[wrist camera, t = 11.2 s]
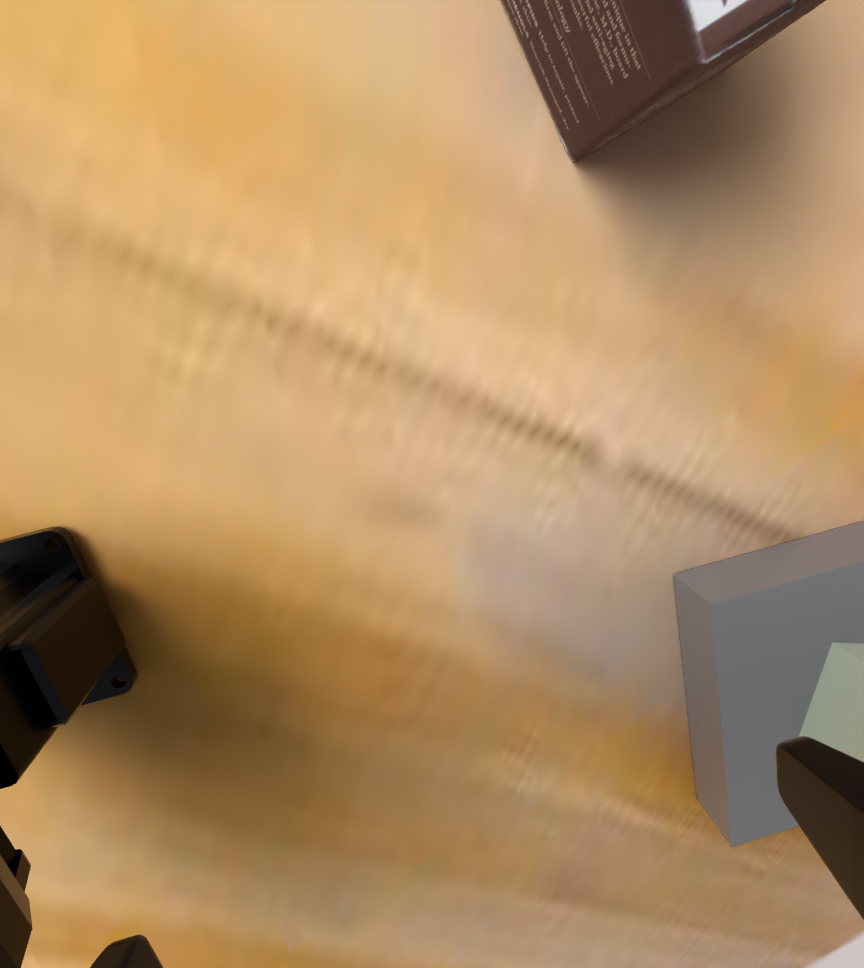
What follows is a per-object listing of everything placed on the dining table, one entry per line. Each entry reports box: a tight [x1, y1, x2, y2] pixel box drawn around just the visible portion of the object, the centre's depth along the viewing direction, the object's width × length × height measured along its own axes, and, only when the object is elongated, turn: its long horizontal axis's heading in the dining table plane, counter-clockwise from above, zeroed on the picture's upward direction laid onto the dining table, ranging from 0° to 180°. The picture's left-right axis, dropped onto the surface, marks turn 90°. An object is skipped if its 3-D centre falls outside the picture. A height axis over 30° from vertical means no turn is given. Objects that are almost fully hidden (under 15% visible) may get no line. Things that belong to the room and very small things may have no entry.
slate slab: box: [673, 521, 864, 847], centre depth 23 cm, size 12×12×2 cm
